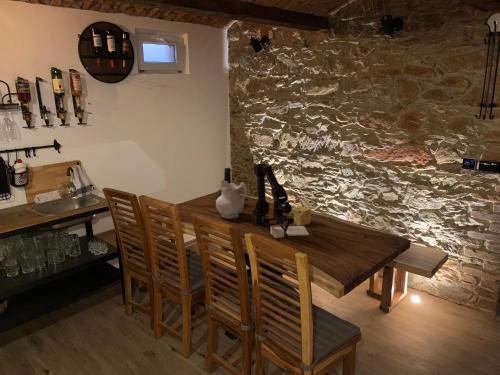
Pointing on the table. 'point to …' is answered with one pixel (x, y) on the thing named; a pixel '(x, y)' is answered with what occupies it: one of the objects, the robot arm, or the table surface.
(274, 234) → the card box
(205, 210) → the table surface
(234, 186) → the ceramic pitcher
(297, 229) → the grey mat
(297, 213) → the cheese
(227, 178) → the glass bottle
